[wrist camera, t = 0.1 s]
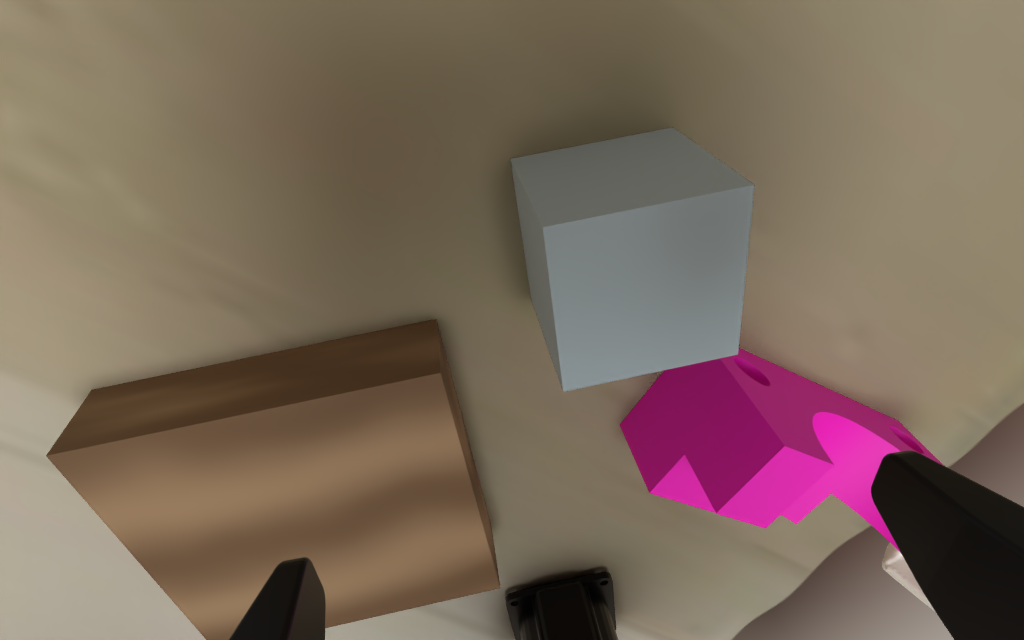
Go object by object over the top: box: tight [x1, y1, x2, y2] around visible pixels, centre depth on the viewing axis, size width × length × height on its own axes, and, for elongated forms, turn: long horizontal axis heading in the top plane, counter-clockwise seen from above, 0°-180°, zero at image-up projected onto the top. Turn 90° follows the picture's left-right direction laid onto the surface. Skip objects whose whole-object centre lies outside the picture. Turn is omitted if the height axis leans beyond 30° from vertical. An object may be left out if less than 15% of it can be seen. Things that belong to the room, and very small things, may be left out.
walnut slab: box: [46, 319, 500, 640], centre depth 26 cm, size 14×14×4 cm
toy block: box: [620, 348, 944, 553], centre depth 27 cm, size 15×6×8 cm, turn 60°
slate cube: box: [510, 127, 755, 392], centre depth 20 cm, size 6×6×6 cm
